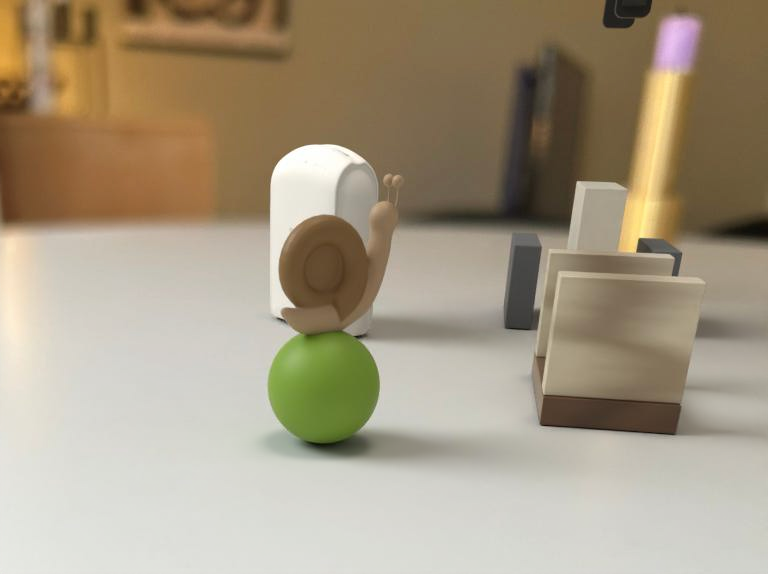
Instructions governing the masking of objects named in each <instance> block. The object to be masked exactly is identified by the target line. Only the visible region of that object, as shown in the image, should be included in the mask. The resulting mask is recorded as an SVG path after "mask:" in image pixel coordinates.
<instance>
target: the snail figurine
mask: <svg viewBox="0 0 768 574" xmlns="http://www.w3.org/2000/svg"><path fill="white" fill-rule="evenodd" d="M382 182H383V184H384V186H385V187H387V200H383V201H382V200H381V201H378V203H377V204H376V205H375V206H374V207H373V208H372V210H371V212H370V215H369V224H370V235H369V239H368V243H367V247H366V249H365V246H364V243H363V240H362V238H361V237H360V235H359V233H358V232H357V230H356V229H355V228H354V227H353V226H352V225H351V224H350V223H348V222H347V221H345V220H344V219H342V218H340V217H337V216H334V215H326V214H323V215H317V216H313V217H310V218H308V219H306V220H304V221H303V222H301V223H300V224H299V225H297V226H296V227H295V228H294V229H293V231H292V232H291V233H290V234H289V236H288V237H287V239H286V241H285V243H284V245H283V248H282V250H281V254H280V258H279V267H278V273H279V281H280V284H281V288H282V290H283V292H284V294H285V295H286V297H287V298H288V299H289V300H290V302H291V303H292V304H293V305H294V306H295V308H290V307H285V308H282V309H281V311H280V312H281V315H282V317H283V319H282V320H283V321H285V322H286V324H288V325H289V327H290V328H291V329H293V330H294V331H295V332H297V333H298V334H296V335H295V336H293V337H291V338H290V339H289V340H287V342H285V344H283V345H282V346H281V347H280V349H279V350H278V351H277V353H276V355H275V356H274V358H273V360H272V362H271V365H270V368H269V372H268V377H267V394H268V400H269V401H268V402H269V404H270V407H271V410H272V412H273V414H274V416H275V417H276V419H277V420H278V422H279V423H280V425H282V426H283V427H284V429H285V430H286V431H288V432H289V433H290V434H292V435H293V436H295V437H296V438H298V439H301V440H304V441H306V442H309V443H314V444H332V443H333V444H334V443H337V442H340V441H343V440H346V439H348V438H350V437H352V436H354V435H355V434H356V433H358V432H359V431H360V430H361V429H363V427H364V426H365V425H366V424H367V423H368V421H370V419H371V417H372V416H373V414H374V412H375V409H376V407H377V405H378V401H379V398H380V389H381V379H380V373H379V369H378V366H377V362H376V360H375V358H374V357H373V355H372V353H371V351H370V350H369V349H368V347H367V346H366V345H365V344H364V343H363V342H362V341H361V340H360V339H359V338H357V337H356V336H352V335H351V334H349V333H347V332H344V331H342V330H344V329H345V328H347V327H348V326H350V325H351V324H353V323H354V322H355V321H357V320H358V319H360V318H361V317H362V316H363V315H364V314H365V313H366V312H367V311H368V310H369V309H370V307H371V306H372V304H373V305H374V302H375V300H376V298H377V296H378V294H379V291H380V289H381V286H382V283H383V281H384V277H385V274H386V271H387V266H388V262H389V258H390V254H391V250H392V249H391V248H392V239H393V236H394V235H393V234H394V232H395V229H396V228H397V226H398V223H399V211H398V208H397V206H398V202H399V193H400V188H402V187H403V185H404V178H403V176H402V175H400V174H396V175H393V174H392V173H388V174H385V176H384V177H383V179H382ZM392 186H393V187H394V188H395V189H396V198H395V203H392V202H390V195H391V187H392Z"/></svg>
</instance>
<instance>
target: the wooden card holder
mask: <svg viewBox="0 0 768 574" xmlns="http://www.w3.org/2000/svg"><path fill="white" fill-rule="evenodd" d="M674 260H675V258H674V257H673V256H671V255H670V254H655V253H636V252H633V251H632V252H629V251H618V252H611V251H589V250H567V248H566V249H563V248H549V249H548V253H547V260H546V265H545V266H546V267H545V274H544V280H543V287H542V296H541V302H540V310H539V311H540V312H539V317H538V325H537V331H536V340H535V347H534V351H533V360H532V366H531V379H532V385H533V391H534V392H533V393H534V398H535V403H536V410H537V417H538V423H539V425H542V426H555V427H570V428H582V429H584V428H585V429H598V430H600V429H601V430H611V431H624V432H625V431H627V432H638V433H639V432H640V433H641V432H642V433H655V434H670V435H676V434H677V432H678V431H677V430H678V427H679V421H680V417H681V412H682V407H683V406H682V404H681V403H682V401H683V397H684V392H685V387H686V383H687V378H688V372H689V368H690V363H691V358H692V353H693V348H694V344H695V339H696V335H697V330H698V325H699V322H700V321H699V320H700V316H701V311H702V307H703V306H702V305H703V301H704V297H705V292H706V288H707V282H706V281H704V280H703V279H702V278H701V277H697V276H695V277H694V276H692V277H691V276H678V277H675V276H672V271H673V266H674Z"/></svg>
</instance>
